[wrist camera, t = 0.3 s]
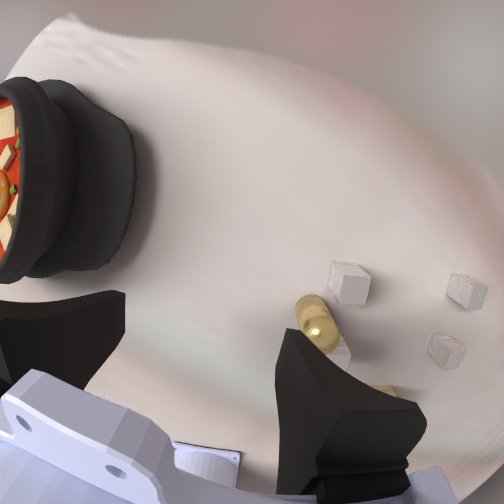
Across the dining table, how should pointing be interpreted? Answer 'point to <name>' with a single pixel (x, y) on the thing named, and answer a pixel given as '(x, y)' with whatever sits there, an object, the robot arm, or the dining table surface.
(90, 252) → the casserole
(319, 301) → the gold capsule
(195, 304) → the dining table surface
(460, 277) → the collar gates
